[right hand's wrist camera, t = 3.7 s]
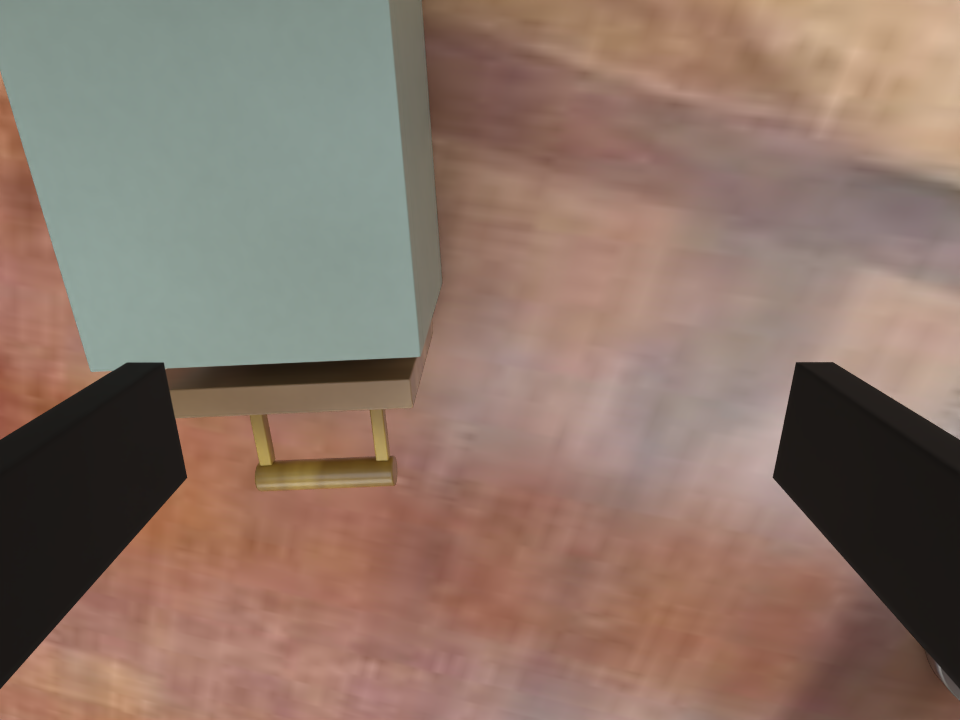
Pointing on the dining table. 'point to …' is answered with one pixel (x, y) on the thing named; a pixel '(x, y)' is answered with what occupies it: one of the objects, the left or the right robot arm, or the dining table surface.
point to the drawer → (305, 410)
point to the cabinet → (231, 174)
